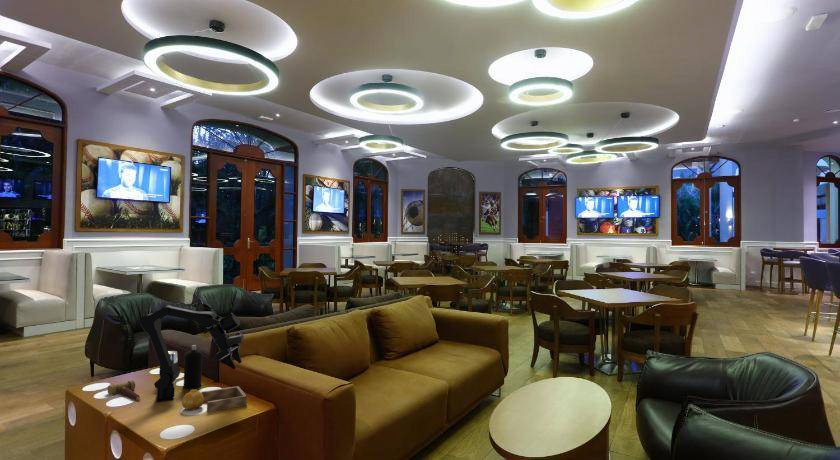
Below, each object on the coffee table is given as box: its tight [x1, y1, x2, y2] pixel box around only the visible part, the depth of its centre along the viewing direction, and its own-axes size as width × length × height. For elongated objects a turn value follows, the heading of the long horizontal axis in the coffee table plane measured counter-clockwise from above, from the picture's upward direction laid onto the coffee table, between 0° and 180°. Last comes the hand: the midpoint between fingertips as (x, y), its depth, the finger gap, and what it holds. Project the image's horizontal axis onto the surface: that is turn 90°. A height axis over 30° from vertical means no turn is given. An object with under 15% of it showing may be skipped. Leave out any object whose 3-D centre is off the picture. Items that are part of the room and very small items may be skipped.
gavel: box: [107, 380, 141, 401], centre depth 204 cm, size 21×5×10 cm
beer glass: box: [168, 350, 178, 384], centre depth 224 cm, size 7×7×15 cm
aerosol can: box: [182, 344, 204, 390], centre depth 219 cm, size 8×8×20 cm
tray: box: [200, 385, 248, 413], centre depth 199 cm, size 16×15×4 cm
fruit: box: [181, 389, 205, 411], centre depth 192 cm, size 8×8×8 cm
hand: (237, 365), depth 206 cm, fingers open, 9 cm apart
